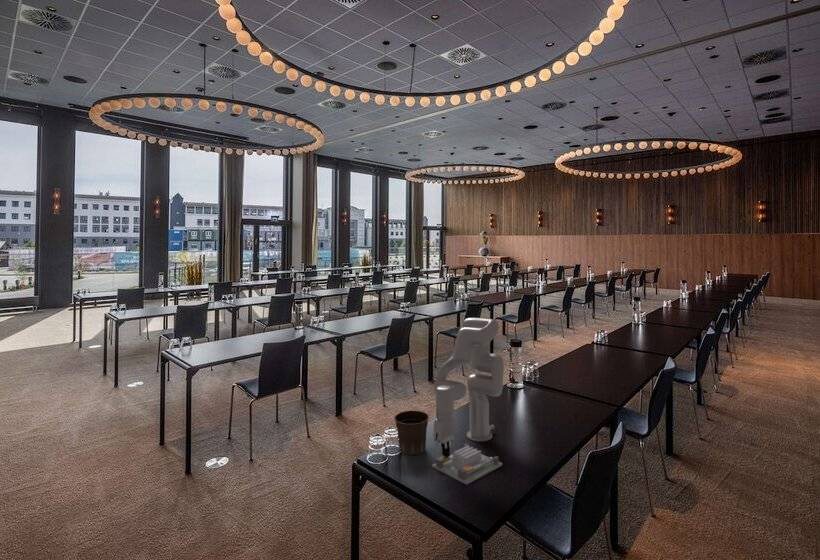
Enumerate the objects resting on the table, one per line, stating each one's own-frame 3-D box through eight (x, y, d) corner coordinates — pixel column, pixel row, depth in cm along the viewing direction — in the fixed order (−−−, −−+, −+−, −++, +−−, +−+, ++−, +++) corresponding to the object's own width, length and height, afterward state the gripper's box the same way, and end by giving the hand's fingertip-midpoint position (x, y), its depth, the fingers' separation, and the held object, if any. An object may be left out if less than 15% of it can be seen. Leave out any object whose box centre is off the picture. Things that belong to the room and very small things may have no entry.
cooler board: (467, 450, 210) (467, 436, 209) (502, 465, 195) (502, 450, 194) (432, 466, 195) (431, 452, 194) (466, 484, 180) (466, 469, 179)
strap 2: (490, 458, 197) (490, 454, 197) (496, 461, 195) (496, 457, 195) (461, 472, 185) (461, 468, 185) (467, 475, 183) (467, 471, 182)
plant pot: (418, 461, 200) (417, 426, 199) (388, 453, 209) (387, 419, 207) (435, 447, 214) (435, 414, 213) (406, 440, 222) (406, 408, 221)
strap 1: (467, 448, 207) (467, 445, 207) (473, 451, 205) (473, 447, 204) (439, 461, 195) (439, 457, 195) (444, 464, 192) (444, 460, 192)
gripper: (450, 407, 201) (451, 447, 203) (426, 417, 192) (427, 458, 193) (463, 412, 196) (464, 452, 197) (438, 422, 186) (440, 464, 188)
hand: (446, 455), depth 195 cm, fingers closed
